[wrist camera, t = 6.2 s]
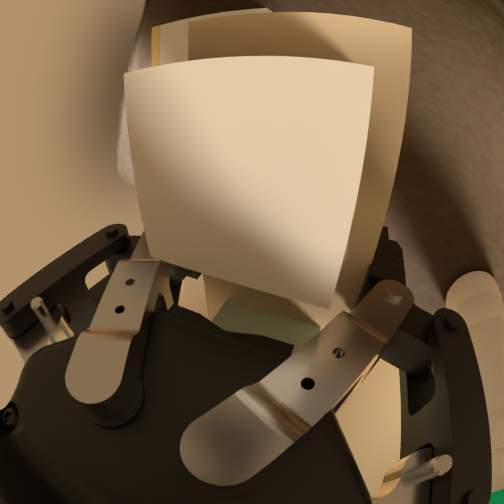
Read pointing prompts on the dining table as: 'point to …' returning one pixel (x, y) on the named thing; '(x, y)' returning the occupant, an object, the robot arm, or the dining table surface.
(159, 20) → the dining table surface
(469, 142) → the dining table surface
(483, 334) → the water bottle
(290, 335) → the block
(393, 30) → the pallet
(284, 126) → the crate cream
